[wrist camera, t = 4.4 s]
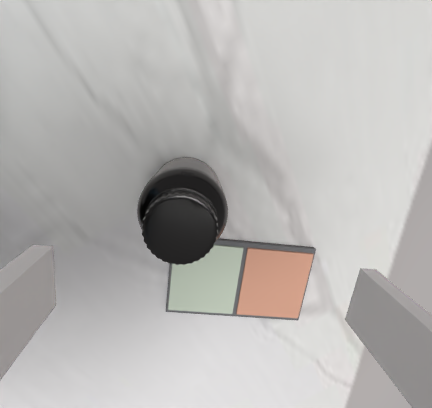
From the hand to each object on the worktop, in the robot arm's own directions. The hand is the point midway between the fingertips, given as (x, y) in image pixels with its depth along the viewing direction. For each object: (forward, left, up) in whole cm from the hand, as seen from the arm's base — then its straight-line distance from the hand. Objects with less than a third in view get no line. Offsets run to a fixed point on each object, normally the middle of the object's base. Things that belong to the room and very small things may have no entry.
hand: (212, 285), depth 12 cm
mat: (+5, -10, -18) cm, 21 cm away
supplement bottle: (-2, 0, -18) cm, 18 cm away
